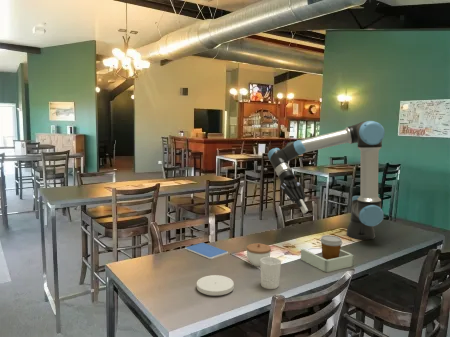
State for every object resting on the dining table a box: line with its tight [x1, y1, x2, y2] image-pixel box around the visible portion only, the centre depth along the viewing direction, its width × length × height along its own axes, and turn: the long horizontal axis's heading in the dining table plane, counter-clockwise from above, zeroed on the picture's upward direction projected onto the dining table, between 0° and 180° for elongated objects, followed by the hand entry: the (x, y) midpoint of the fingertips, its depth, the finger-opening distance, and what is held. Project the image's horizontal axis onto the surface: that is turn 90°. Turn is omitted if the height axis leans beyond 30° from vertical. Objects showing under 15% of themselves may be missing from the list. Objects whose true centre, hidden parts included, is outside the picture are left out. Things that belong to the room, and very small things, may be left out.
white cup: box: [259, 256, 282, 290], centre depth 138 cm, size 8×8×10 cm
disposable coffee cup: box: [319, 234, 343, 260], centre depth 161 cm, size 10×10×12 cm
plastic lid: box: [196, 274, 235, 297], centre depth 135 cm, size 14×14×2 cm
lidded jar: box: [246, 242, 272, 267], centre depth 159 cm, size 11×11×9 cm
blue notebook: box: [184, 242, 229, 260], centre depth 175 cm, size 19×13×1 cm, turn 45°
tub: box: [300, 248, 355, 273], centre depth 163 cm, size 16×16×5 cm
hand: (305, 211), depth 174 cm, fingers closed
